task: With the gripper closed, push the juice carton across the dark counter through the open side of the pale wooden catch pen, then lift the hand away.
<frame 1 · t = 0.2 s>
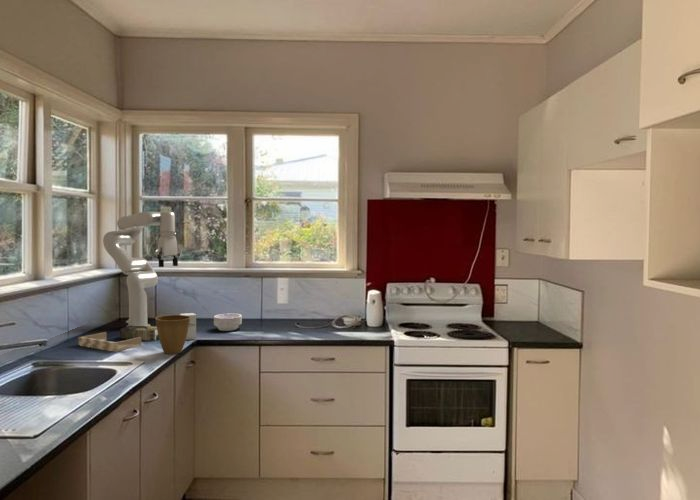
hand: (168, 266, 275), 36 cm above the worktop, tool pointing down, fingers open, 9 cm apart
supplement box: (187, 339, 259), on the worktop
juice carton: (142, 339, 260), on the worktop
catch pen: (111, 345, 244), on the worktop
paper bowls: (228, 329, 283), on the worktop
plant pot: (173, 352, 230), on the worktop
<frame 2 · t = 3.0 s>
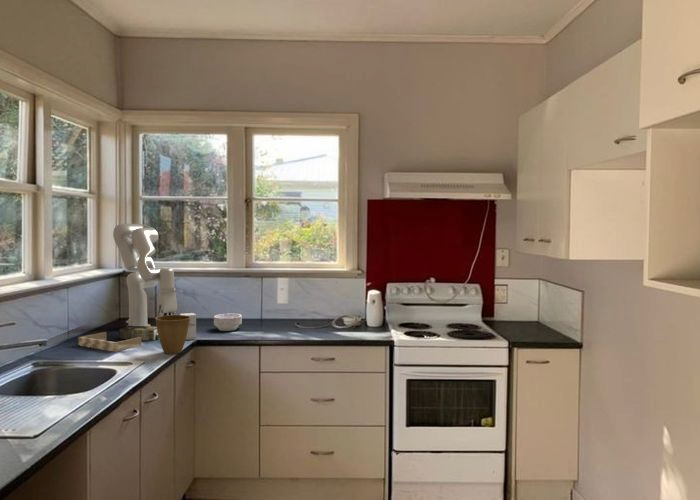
hand: (168, 325, 274), 4 cm above the worktop, tool pointing down, fingers closed
nothing on the worktop moved.
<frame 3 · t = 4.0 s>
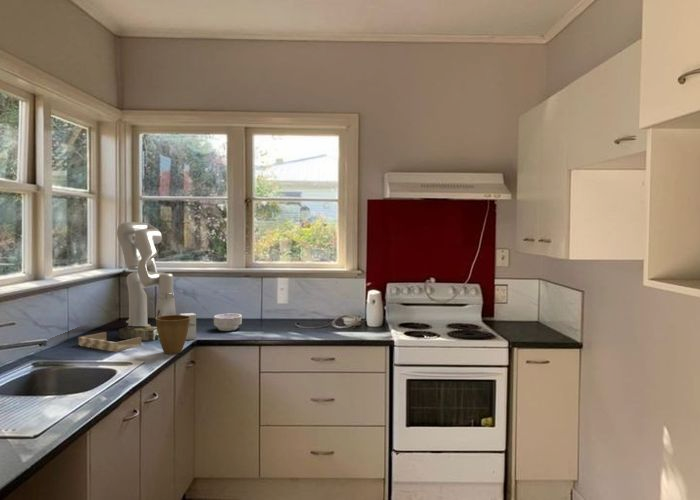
hand: (166, 330, 274), 1 cm above the worktop, tool pointing down, fingers closed
nothing on the worktop moved.
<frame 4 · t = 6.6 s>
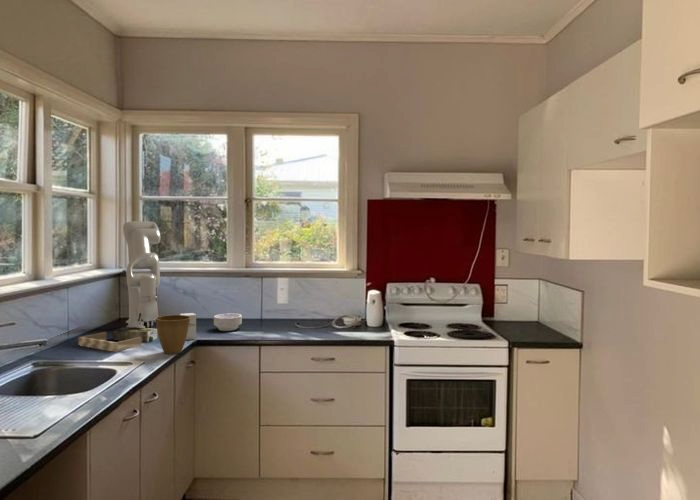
hand: (148, 334, 263), 1 cm above the worktop, tool pointing down, fingers closed
juice carton: (135, 340, 256), on the worktop
everything else where it was.
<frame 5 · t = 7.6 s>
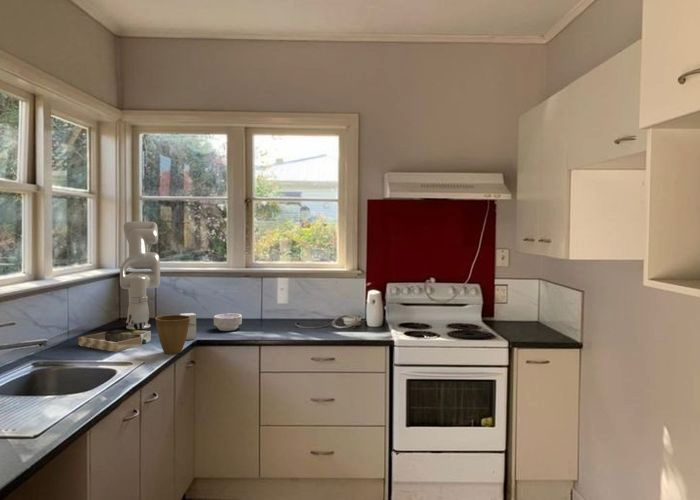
hand: (139, 336, 258), 1 cm above the worktop, tool pointing down, fingers closed
juice carton: (128, 343, 251), on the worktop, touching gripper
everything else where it was.
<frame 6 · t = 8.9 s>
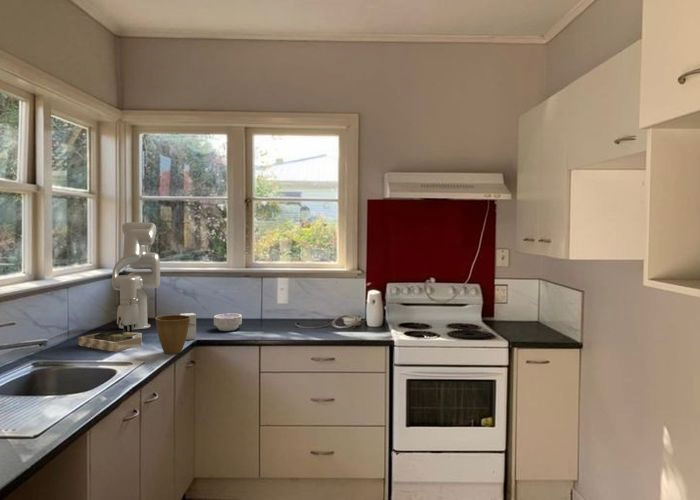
hand: (128, 338, 253), 1 cm above the worktop, tool pointing down, fingers closed
juice carton: (118, 345, 246), on the worktop, touching gripper
everything else where it was.
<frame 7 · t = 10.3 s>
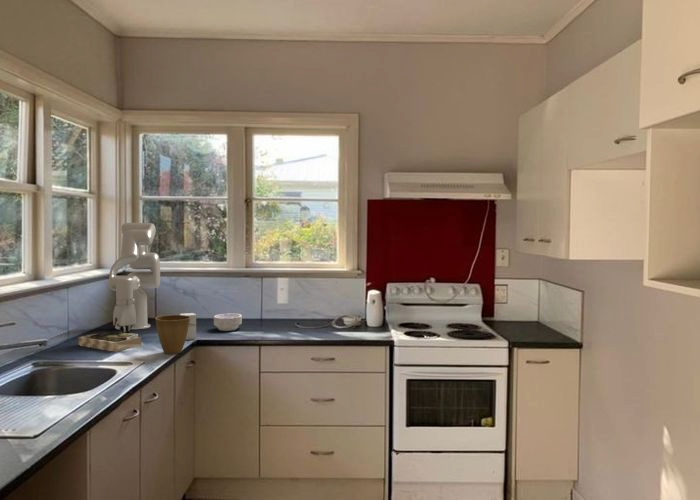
hand: (125, 339, 251), 1 cm above the worktop, tool pointing down, fingers closed
juice carton: (115, 346, 244), on the worktop
everything else where it was.
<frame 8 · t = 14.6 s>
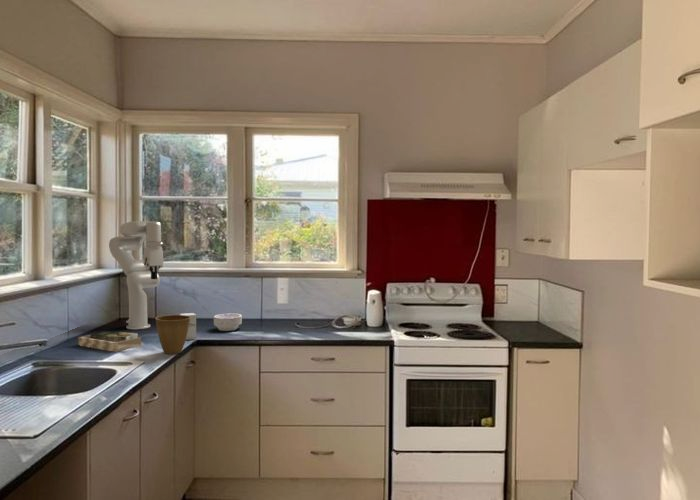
hand: (154, 278, 272), 29 cm above the worktop, tool pointing down, fingers closed
juice carton: (114, 346, 245), on the worktop
everything else where it was.
at the end: juice carton inside the target area on the catch pen (3.9 cm from its centre), point -0.6 cm above the catch pen's base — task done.
